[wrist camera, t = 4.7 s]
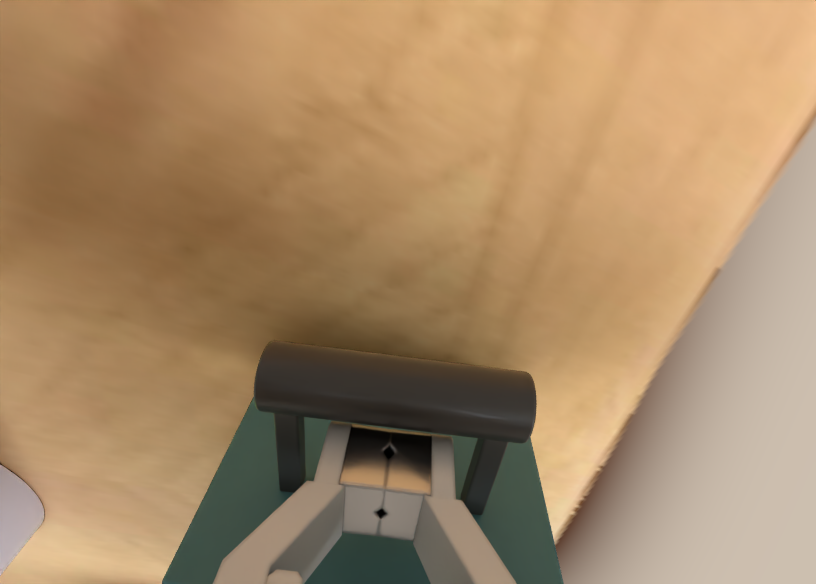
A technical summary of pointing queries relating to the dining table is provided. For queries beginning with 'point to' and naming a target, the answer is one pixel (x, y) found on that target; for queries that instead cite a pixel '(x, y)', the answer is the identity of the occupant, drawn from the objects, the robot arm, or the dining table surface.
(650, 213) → the dining table surface
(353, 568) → the drawer
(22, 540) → the wedge on round base
